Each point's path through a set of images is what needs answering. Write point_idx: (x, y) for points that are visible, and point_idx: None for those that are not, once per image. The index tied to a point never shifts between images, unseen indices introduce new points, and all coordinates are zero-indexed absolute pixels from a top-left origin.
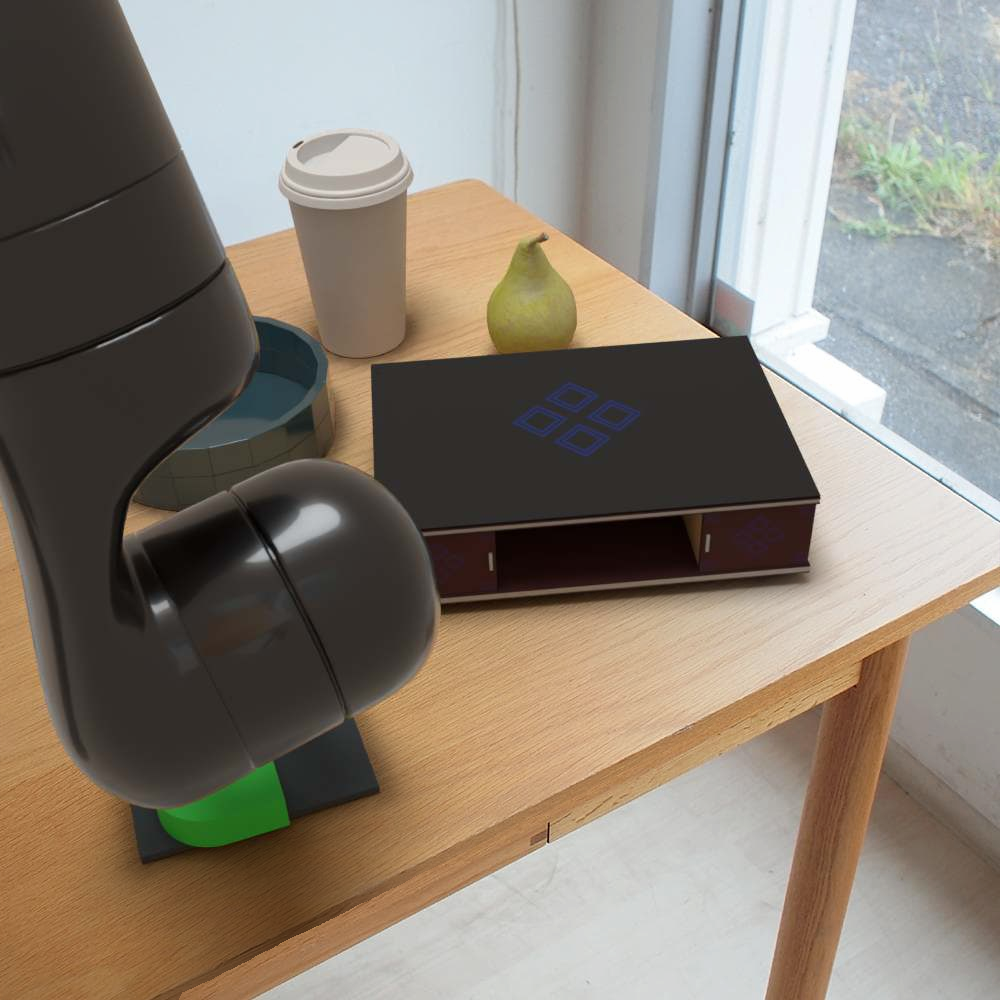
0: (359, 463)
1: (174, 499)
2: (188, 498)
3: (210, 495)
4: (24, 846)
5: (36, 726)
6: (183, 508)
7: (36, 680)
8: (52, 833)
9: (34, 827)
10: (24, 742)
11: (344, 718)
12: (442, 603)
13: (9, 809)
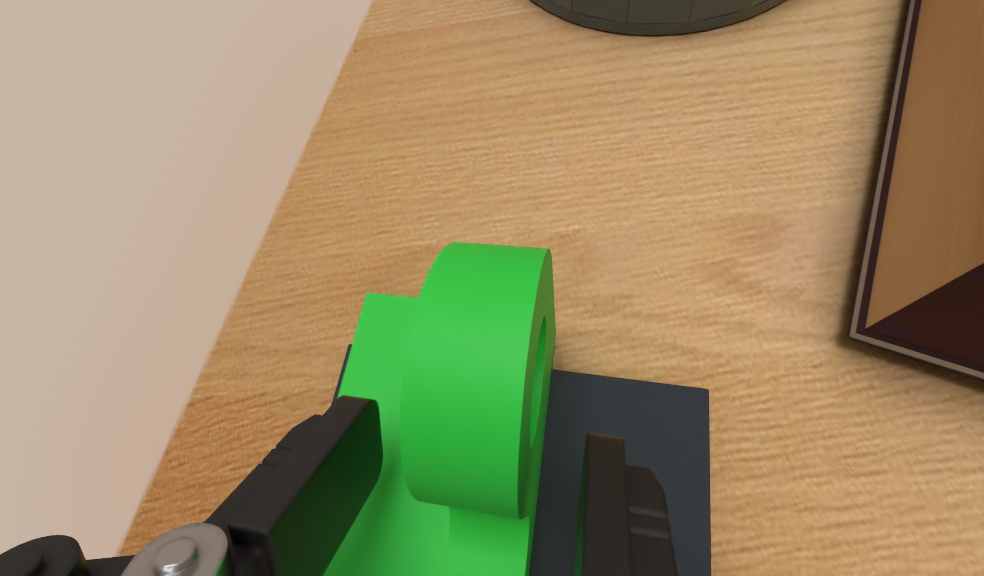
0: (859, 10)
1: (568, 1)
2: (586, 5)
3: (617, 8)
4: (151, 524)
5: (265, 307)
6: (576, 19)
7: (300, 229)
8: (191, 522)
9: (178, 494)
10: (241, 327)
11: (692, 568)
12: (981, 378)
13: (171, 439)
